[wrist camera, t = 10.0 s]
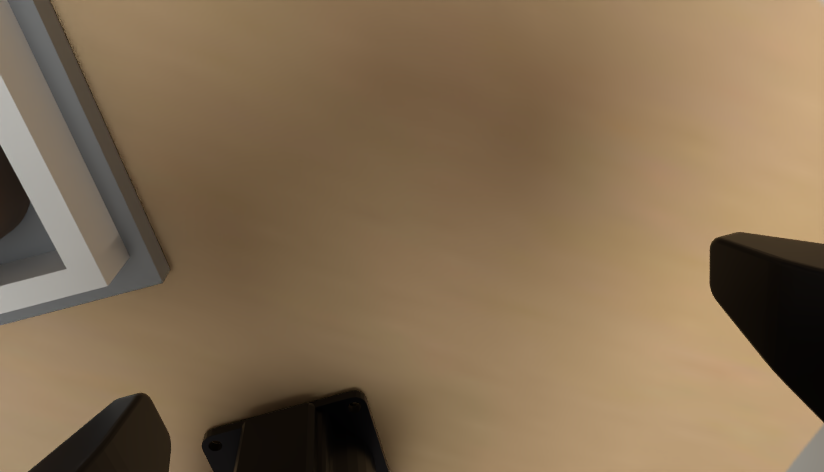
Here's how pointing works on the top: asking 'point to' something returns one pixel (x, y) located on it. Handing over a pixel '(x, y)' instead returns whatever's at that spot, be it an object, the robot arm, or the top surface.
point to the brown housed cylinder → (10, 197)
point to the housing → (63, 179)
